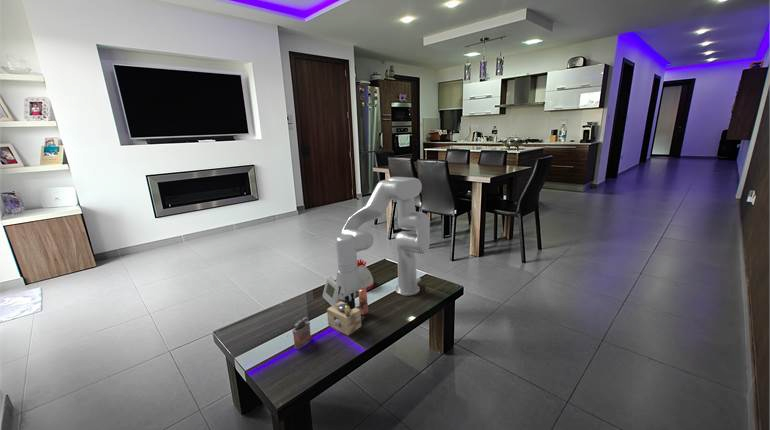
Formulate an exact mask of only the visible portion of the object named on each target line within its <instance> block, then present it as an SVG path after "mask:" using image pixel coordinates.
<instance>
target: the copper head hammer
mask: <svg viewBox="0 0 770 430" xmlns="http://www.w3.org/2000/svg"><path fill="white" fill-rule="evenodd" d="M367 291H368V290H367V289H366V288H360V290H359V291H358V301H359V303H358V305H357V306H355V308H358V309H360V311H361V315H363V316H365V315H367V314H368V313H369V303H368V292H367ZM339 324H340V319H338V318H337V319H336V320H334V325H335V326H337V325H339Z"/></svg>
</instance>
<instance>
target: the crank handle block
mask: <svg viewBox="0 0 770 430" xmlns="http://www.w3.org/2000/svg"><path fill="white" fill-rule="evenodd" d="M337 308H338V311H340V312H344V313H345V315H346V317H348V316H349V315H350V307H349V305H347V303H346V304H340V305H338V307H337Z"/></svg>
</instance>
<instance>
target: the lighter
mask: <svg viewBox="0 0 770 430" xmlns="http://www.w3.org/2000/svg"><path fill="white" fill-rule="evenodd" d="M292 335H293V342H294V343H293V344H294V349H295V350H300V349H301V348H303V347H304V346H306V345H307V344H309V343H310V342H311V341H312V338H313V337H312V335H311V321H309V320H308V317H307V316H304V317H303V318H302V319H299V320H297V321H296V323H295V324H294V328H293V329H292Z"/></svg>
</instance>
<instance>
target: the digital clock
mask: <svg viewBox="0 0 770 430" xmlns="http://www.w3.org/2000/svg"><path fill="white" fill-rule="evenodd" d="M339 295H340V294H337V292H336V279H334V278H333V277H331V276H328V277H327V278H326V281H325V284H324V289H323V292H322V298H323V299H324V300H325V301H326V302H327V303H328V304H329V305H330V307H331V306H333V305H335V304H337V303H339V302H340V301H341V302H344V303H346V299H344V300H341V299H339Z"/></svg>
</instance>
